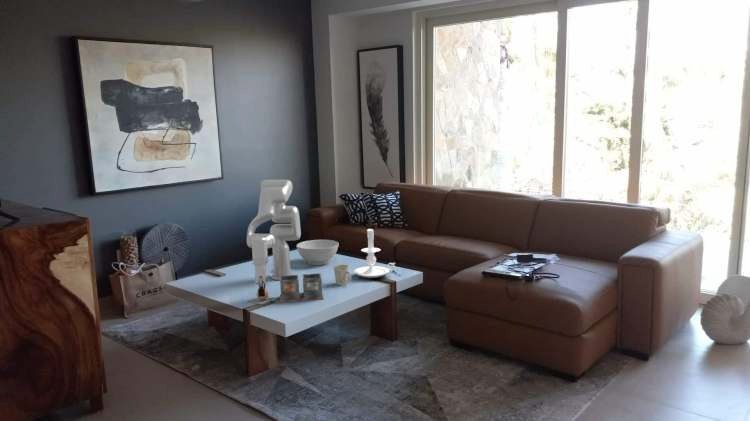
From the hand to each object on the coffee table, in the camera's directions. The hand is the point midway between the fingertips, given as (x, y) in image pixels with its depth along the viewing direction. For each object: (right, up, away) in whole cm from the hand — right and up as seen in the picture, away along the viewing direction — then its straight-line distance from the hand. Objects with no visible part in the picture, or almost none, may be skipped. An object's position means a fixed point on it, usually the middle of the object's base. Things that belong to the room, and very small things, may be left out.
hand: (262, 293), depth 302 cm
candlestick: (+58, +4, +40) cm, 70 cm away
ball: (0, 0, 0) cm, 1 cm away
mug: (+41, +1, +25) cm, 48 cm away
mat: (0, -4, +1) cm, 4 cm away
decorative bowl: (+22, +9, +75) cm, 78 cm away
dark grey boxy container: (+20, -3, +4) cm, 20 cm away
